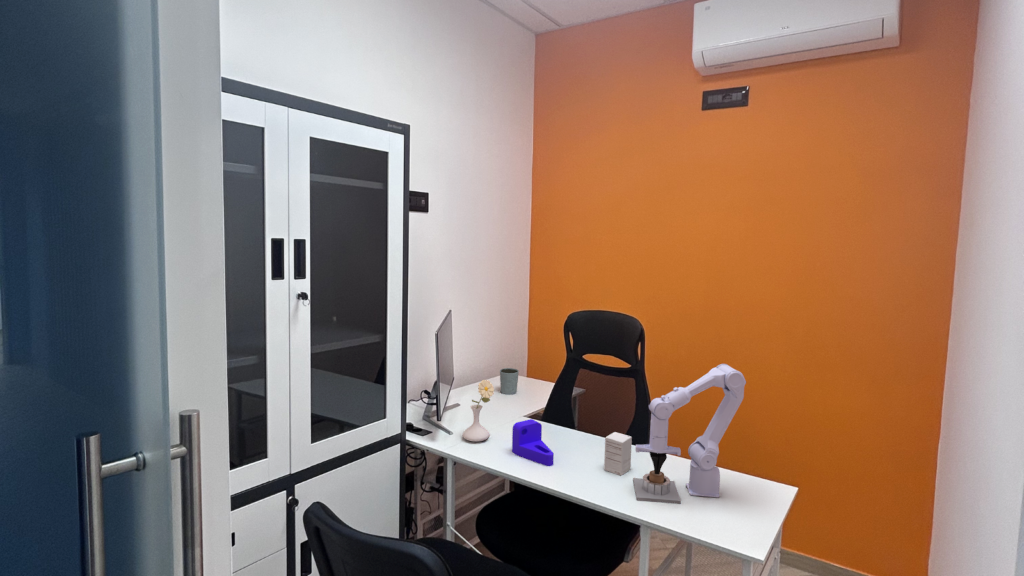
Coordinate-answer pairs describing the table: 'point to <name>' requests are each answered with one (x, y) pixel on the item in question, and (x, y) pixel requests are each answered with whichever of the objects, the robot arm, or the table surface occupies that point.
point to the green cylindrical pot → (508, 381)
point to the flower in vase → (476, 430)
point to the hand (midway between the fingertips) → (656, 473)
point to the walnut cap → (656, 477)
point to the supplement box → (617, 453)
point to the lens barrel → (656, 486)
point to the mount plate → (645, 496)
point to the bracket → (531, 442)
